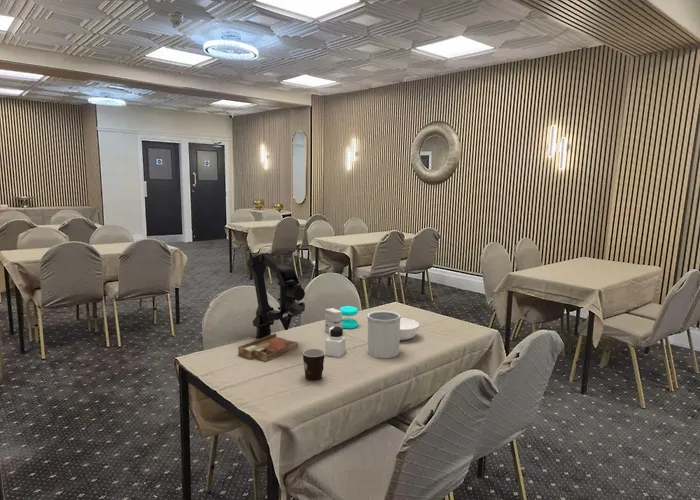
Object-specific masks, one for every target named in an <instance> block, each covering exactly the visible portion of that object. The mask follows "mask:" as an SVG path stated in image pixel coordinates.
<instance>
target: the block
mask: <svg viewBox="0 0 700 500" xmlns="http://www.w3.org/2000/svg"><path fill="white" fill-rule="evenodd" d="M276 337H277V338H274V339H272V340H269V348H271V349H274V350H277V351H278V350H280V349H283V348H285V347H286V340H287V339H286V338H283V339H281V338H282V337H279V336H276ZM278 337H279V338H278ZM285 339H286V340H285Z"/></svg>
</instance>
